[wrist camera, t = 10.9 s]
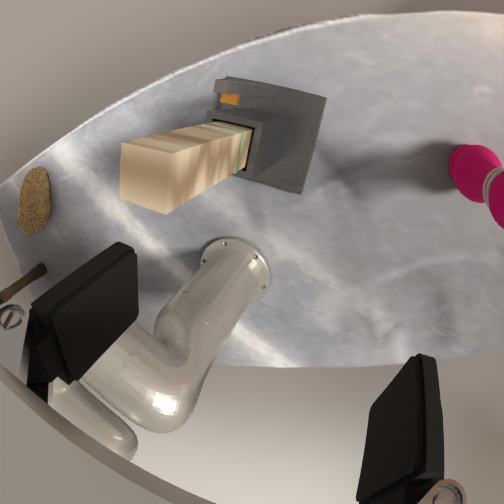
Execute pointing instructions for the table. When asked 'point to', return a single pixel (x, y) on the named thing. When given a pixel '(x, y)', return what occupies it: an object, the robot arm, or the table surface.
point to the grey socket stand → (272, 129)
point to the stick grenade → (22, 283)
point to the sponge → (34, 201)
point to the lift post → (181, 163)
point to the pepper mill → (479, 177)
